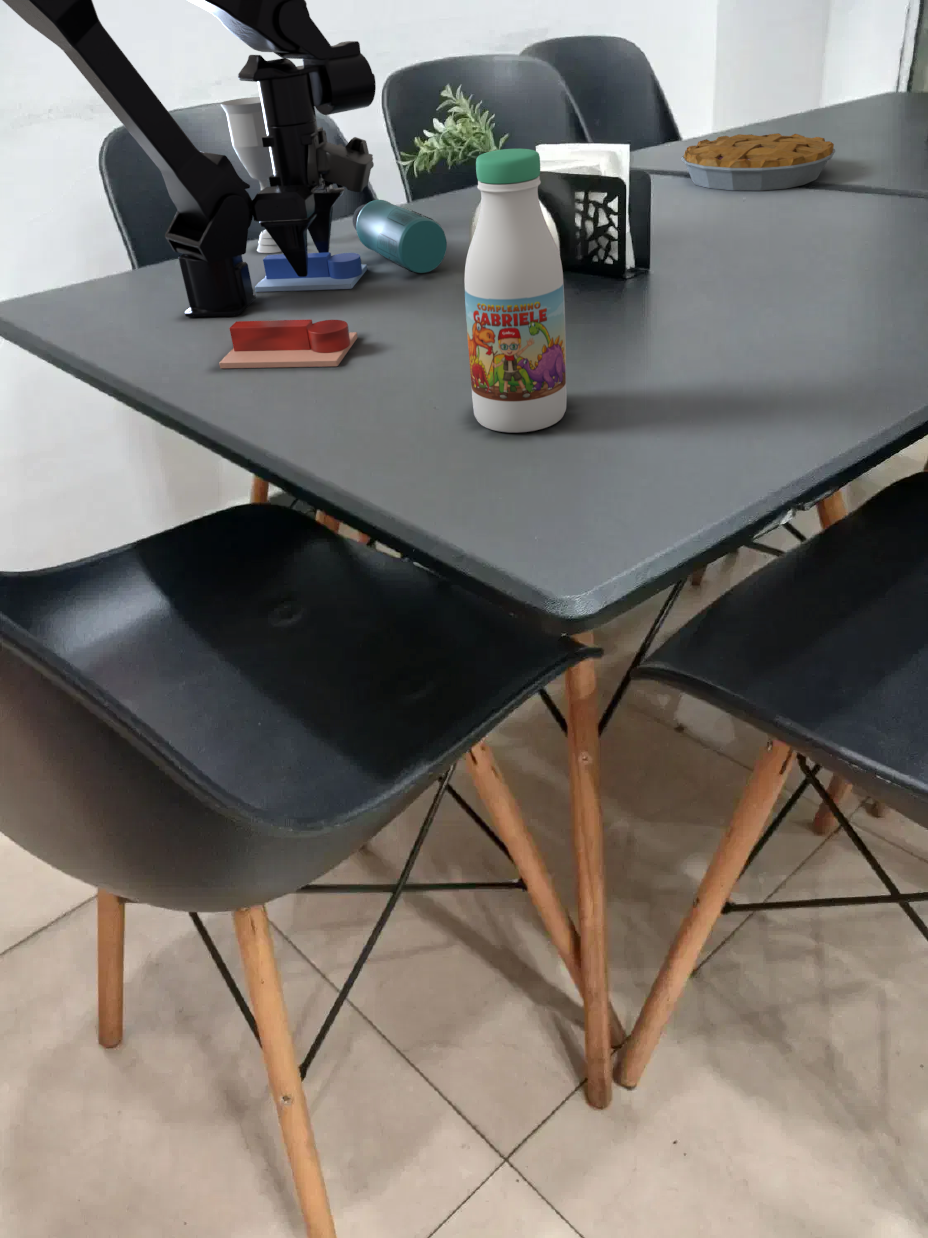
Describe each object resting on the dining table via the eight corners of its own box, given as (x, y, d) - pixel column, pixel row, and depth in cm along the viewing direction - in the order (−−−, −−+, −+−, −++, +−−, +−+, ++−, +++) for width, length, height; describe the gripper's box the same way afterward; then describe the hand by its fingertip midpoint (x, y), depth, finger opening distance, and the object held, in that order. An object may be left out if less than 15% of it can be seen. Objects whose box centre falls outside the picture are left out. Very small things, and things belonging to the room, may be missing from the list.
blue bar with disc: (263, 281, 118) (259, 261, 116) (274, 272, 121) (270, 252, 119) (358, 278, 116) (355, 257, 114) (365, 268, 119) (363, 248, 117)
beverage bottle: (430, 207, 111) (365, 180, 126) (392, 252, 112) (332, 220, 127) (464, 247, 116) (397, 216, 131) (428, 290, 116) (365, 254, 131)
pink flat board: (220, 368, 96) (218, 362, 95) (247, 340, 102) (246, 334, 102) (337, 366, 94) (336, 360, 93) (357, 337, 100) (356, 331, 100)
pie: (805, 196, 133) (810, 157, 131) (657, 189, 144) (658, 152, 141) (850, 164, 148) (855, 127, 145) (712, 159, 158) (714, 125, 156)
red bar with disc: (230, 354, 97) (225, 331, 95) (244, 340, 100) (239, 317, 99) (344, 352, 95) (341, 328, 93) (354, 338, 98) (351, 314, 97)
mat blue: (255, 291, 116) (254, 286, 116) (275, 272, 123) (275, 267, 123) (351, 288, 114) (350, 283, 114) (367, 269, 121) (366, 264, 120)
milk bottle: (469, 402, 84) (449, 149, 72) (558, 393, 84) (552, 138, 72) (478, 440, 77) (457, 168, 66) (574, 429, 78) (570, 157, 66)
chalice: (239, 253, 132) (209, 105, 122) (265, 240, 137) (238, 97, 127) (285, 255, 129) (258, 103, 119) (310, 241, 134) (287, 95, 124)
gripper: (338, 132, 100) (359, 286, 109) (379, 104, 115) (395, 241, 124) (236, 138, 102) (265, 289, 111) (289, 110, 117) (311, 245, 126)
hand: (314, 265), depth 118 cm, fingers open, 9 cm apart
